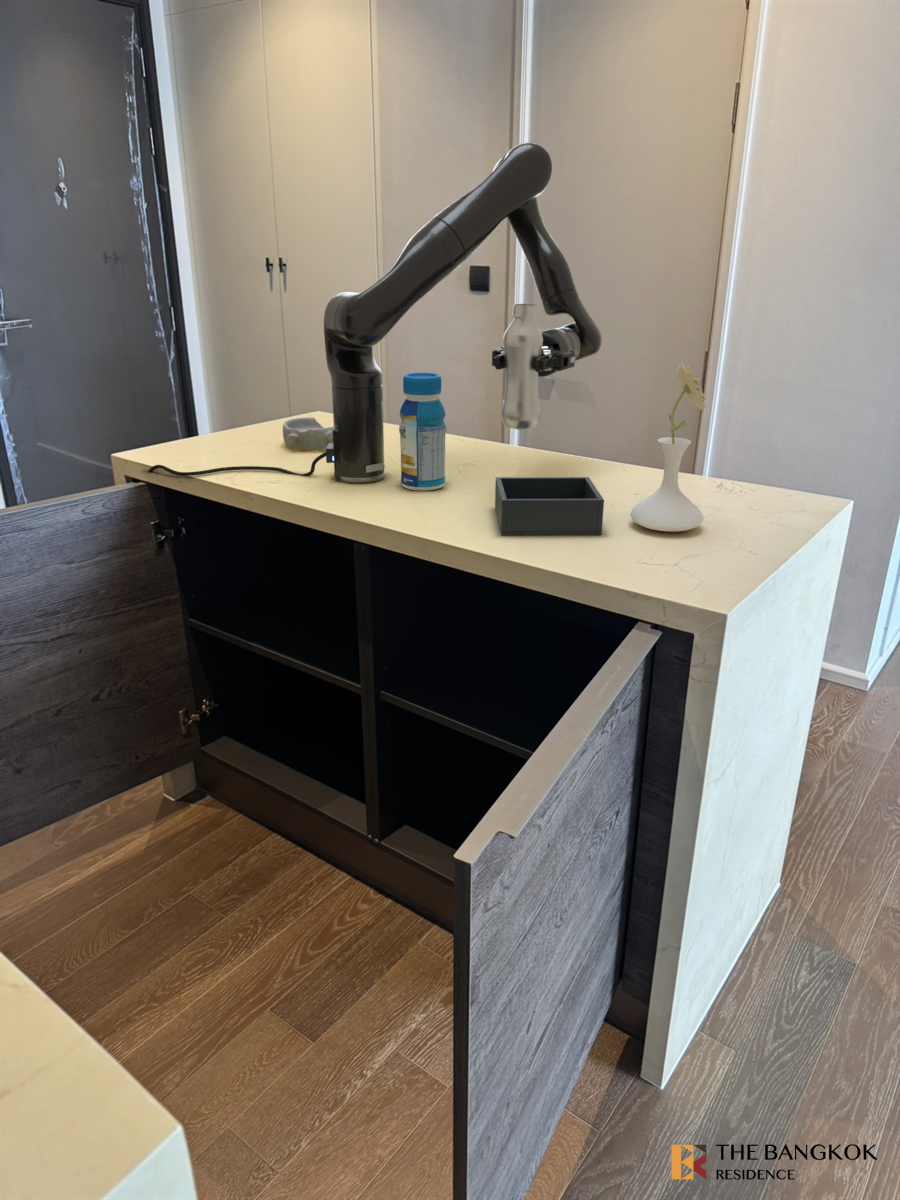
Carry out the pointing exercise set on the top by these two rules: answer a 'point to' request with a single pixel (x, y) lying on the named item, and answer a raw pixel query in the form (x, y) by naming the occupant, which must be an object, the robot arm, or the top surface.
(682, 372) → the flower in vase
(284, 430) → the dish
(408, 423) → the beverage bottle
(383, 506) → the top surface
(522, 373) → the plastic bottle
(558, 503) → the black open rectangular box
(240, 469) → the robot arm
